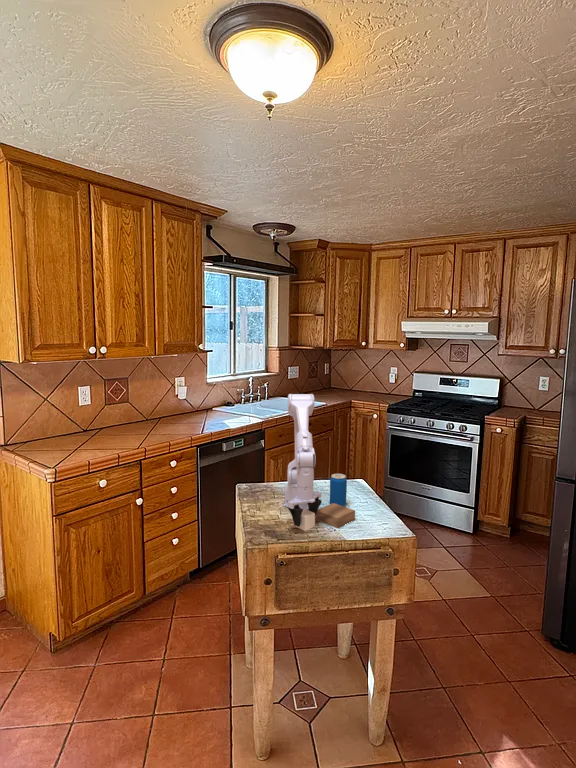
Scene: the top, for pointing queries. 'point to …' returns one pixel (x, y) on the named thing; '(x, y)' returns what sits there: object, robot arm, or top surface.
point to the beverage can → (338, 489)
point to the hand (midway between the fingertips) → (304, 522)
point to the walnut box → (335, 515)
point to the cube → (307, 520)
